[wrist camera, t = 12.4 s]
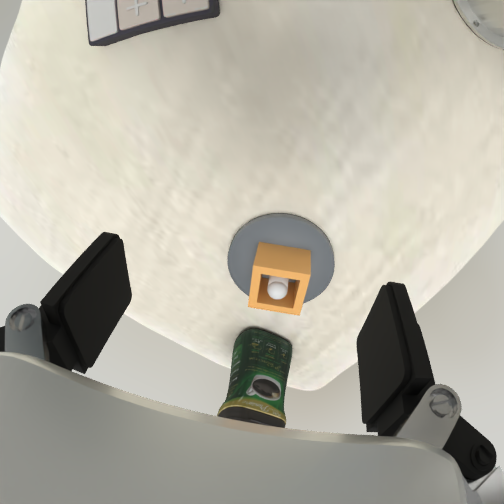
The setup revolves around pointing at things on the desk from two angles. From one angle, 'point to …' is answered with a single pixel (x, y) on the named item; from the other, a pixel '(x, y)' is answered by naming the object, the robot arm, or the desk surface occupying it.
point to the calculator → (141, 17)
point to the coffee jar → (258, 379)
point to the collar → (281, 265)
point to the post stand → (286, 234)
